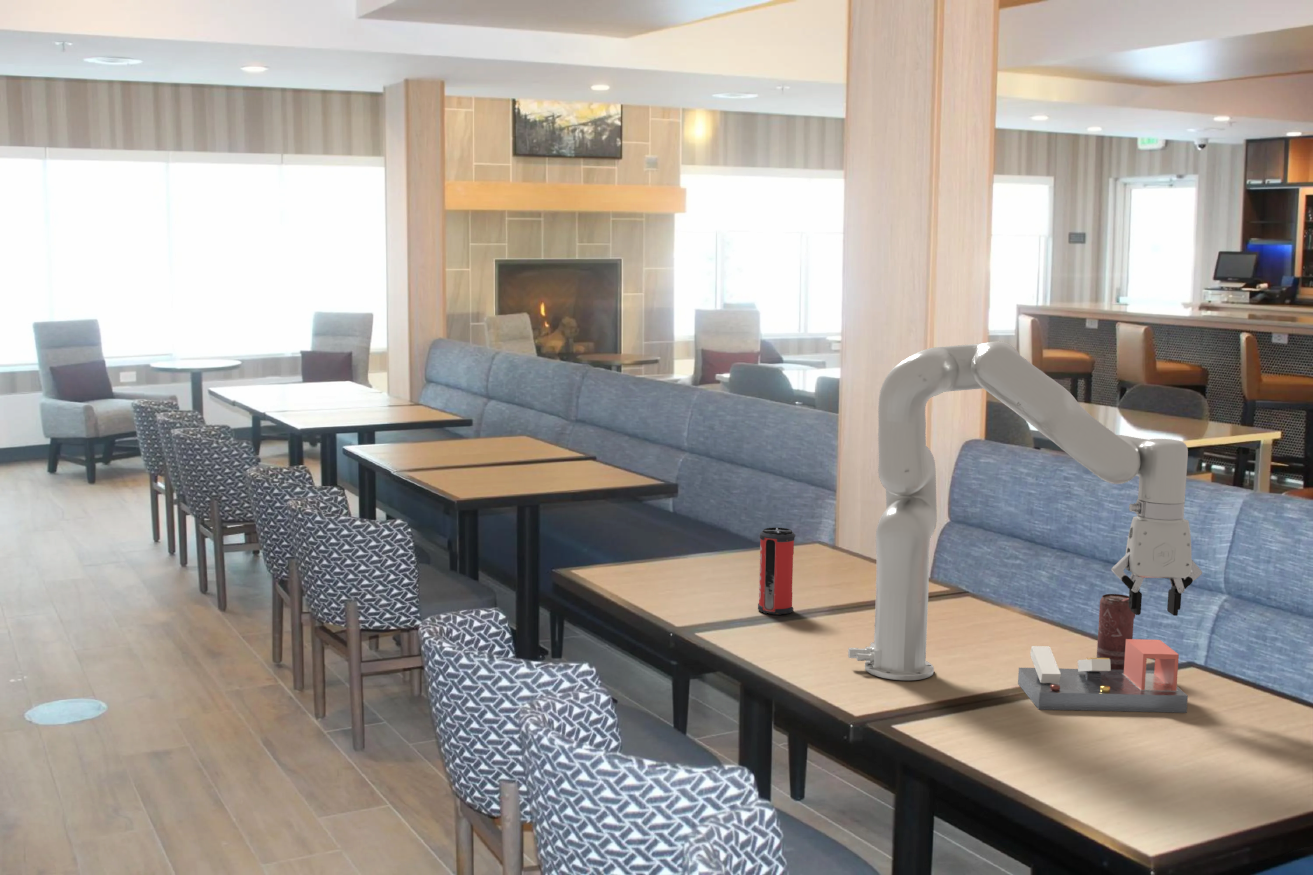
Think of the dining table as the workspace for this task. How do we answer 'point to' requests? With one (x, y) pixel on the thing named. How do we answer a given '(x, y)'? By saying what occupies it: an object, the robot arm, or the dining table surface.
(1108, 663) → the block
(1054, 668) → the block
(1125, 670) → the cap
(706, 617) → the dining table surface
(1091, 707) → the panel
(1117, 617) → the can
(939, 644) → the dining table surface
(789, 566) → the speaker
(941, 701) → the dining table surface
